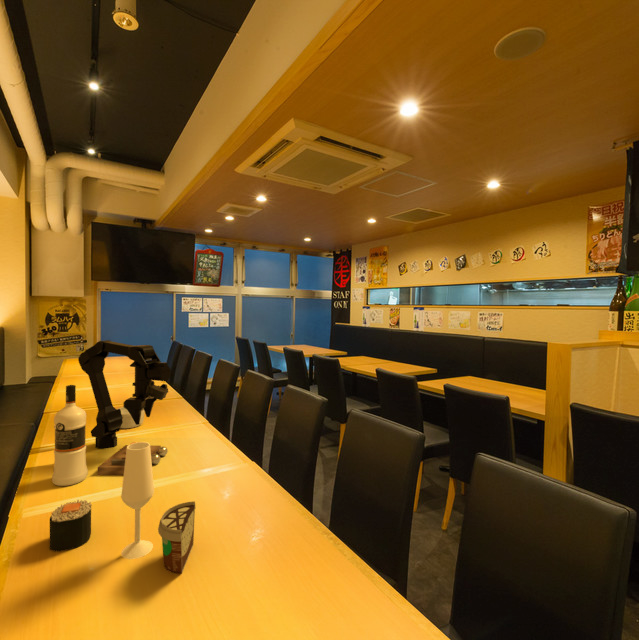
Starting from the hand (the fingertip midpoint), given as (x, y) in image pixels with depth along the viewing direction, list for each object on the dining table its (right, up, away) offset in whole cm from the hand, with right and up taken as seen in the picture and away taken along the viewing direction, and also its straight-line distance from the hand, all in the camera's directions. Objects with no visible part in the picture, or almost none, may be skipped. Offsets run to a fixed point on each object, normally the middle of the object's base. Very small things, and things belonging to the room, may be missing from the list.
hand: (143, 420), depth 138 cm
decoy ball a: (+8, -11, -2) cm, 14 cm away
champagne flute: (+24, -15, -54) cm, 61 cm away
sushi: (+8, -14, -51) cm, 54 cm away
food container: (+34, -15, -57) cm, 68 cm away
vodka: (-12, -13, -22) cm, 28 cm away
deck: (0, -12, -8) cm, 15 cm away
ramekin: (-21, -11, +32) cm, 40 cm away
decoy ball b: (+9, -11, -9) cm, 17 cm away
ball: (-1, -8, -5) cm, 10 cm away
